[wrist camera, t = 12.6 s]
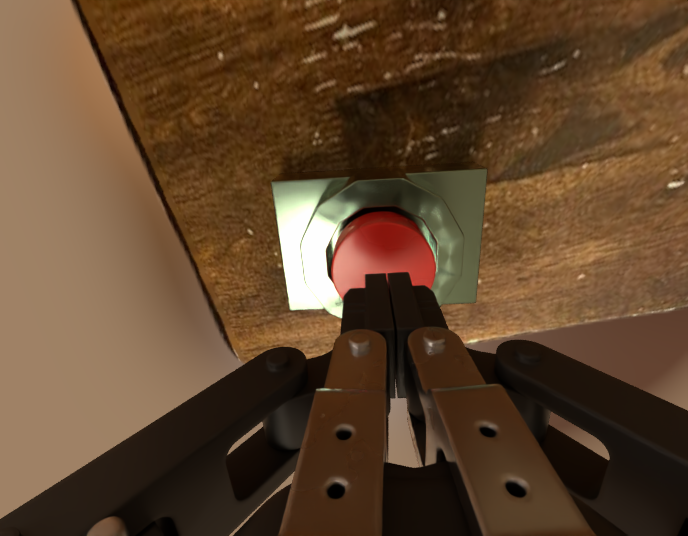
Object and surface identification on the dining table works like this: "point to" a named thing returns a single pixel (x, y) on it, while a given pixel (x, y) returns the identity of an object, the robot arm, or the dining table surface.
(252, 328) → the dining table surface
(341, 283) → the button
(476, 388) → the robot arm
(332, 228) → the button base
